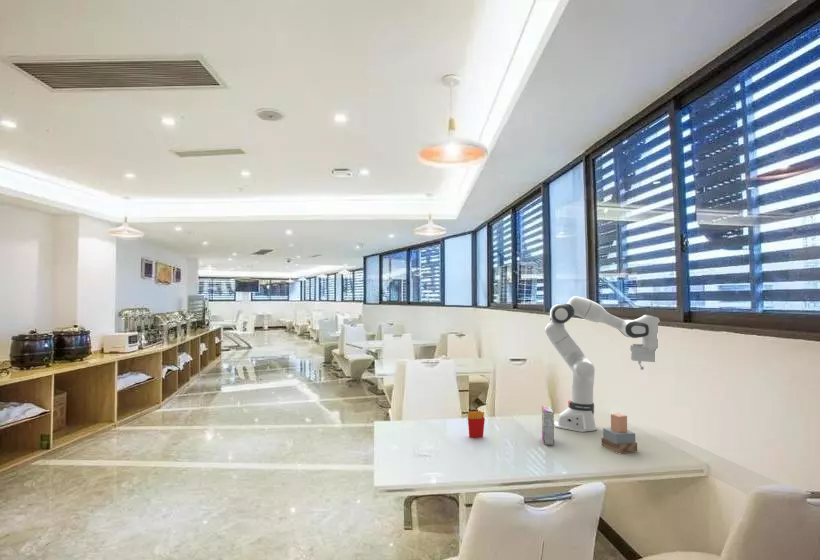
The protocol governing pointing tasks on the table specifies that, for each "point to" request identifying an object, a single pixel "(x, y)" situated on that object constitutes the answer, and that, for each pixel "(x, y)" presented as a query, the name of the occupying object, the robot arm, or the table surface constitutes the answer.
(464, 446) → the table surface
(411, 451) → the table surface
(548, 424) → the candy bar box
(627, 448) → the walnut slab
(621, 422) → the terracotta block
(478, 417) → the french fries
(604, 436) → the charcoal slab
